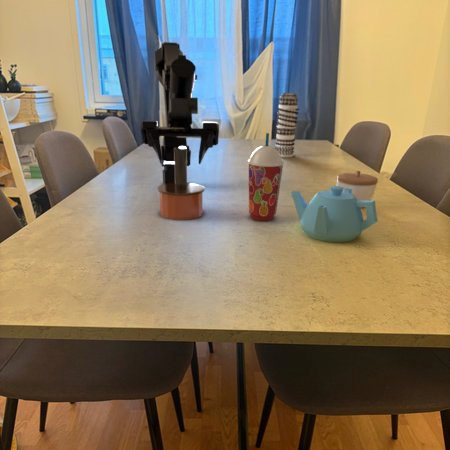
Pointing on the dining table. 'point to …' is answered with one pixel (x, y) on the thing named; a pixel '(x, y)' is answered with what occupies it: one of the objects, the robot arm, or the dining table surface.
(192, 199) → the crock
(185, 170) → the brown disc with post
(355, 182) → the trinket box
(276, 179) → the smoothie
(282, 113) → the white patterned cylinder
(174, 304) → the dining table surface
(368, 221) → the teapot
